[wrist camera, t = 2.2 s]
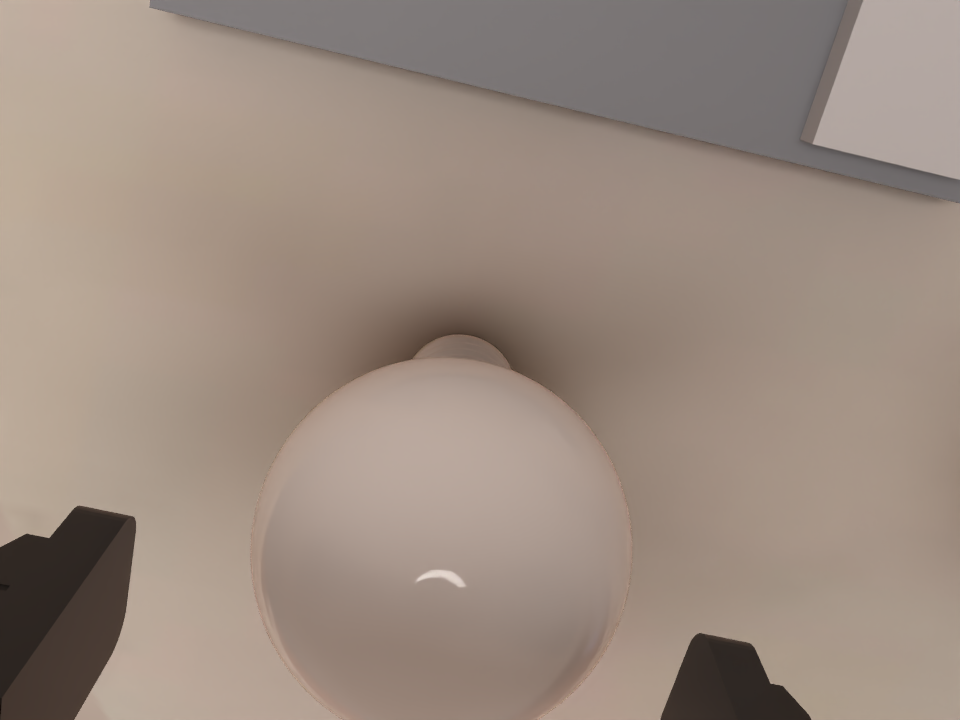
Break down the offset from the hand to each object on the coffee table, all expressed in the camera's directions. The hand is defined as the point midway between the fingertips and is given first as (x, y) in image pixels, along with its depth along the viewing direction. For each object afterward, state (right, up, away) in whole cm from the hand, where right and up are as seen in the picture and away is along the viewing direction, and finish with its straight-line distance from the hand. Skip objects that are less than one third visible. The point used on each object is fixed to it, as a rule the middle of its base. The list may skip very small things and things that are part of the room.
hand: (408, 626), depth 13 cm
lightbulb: (+1, +3, +10) cm, 11 cm away
